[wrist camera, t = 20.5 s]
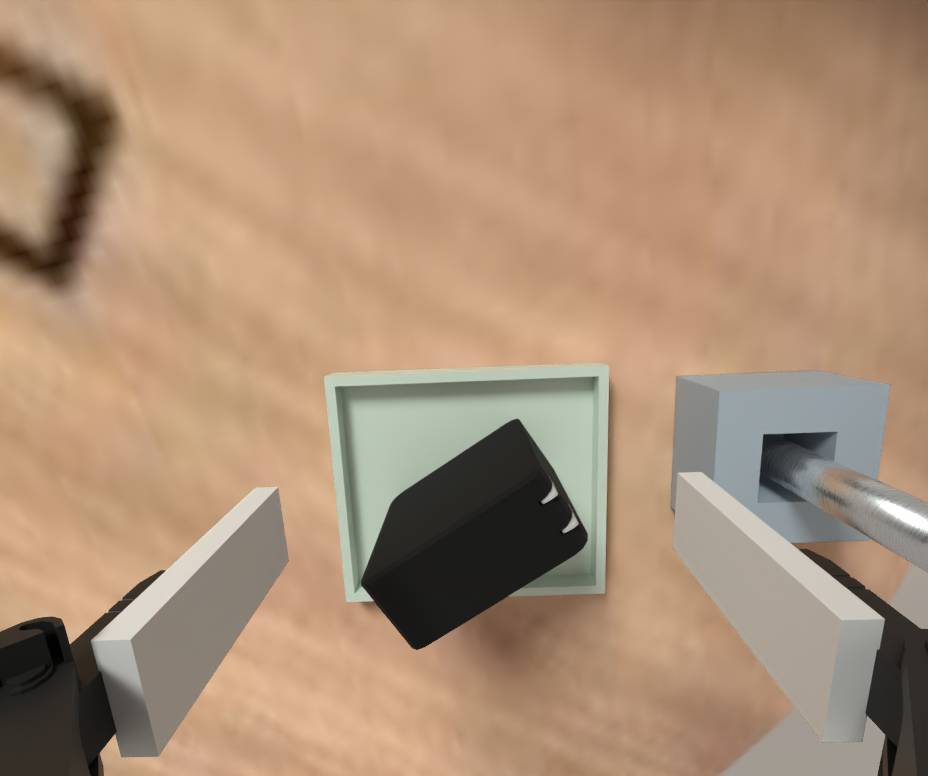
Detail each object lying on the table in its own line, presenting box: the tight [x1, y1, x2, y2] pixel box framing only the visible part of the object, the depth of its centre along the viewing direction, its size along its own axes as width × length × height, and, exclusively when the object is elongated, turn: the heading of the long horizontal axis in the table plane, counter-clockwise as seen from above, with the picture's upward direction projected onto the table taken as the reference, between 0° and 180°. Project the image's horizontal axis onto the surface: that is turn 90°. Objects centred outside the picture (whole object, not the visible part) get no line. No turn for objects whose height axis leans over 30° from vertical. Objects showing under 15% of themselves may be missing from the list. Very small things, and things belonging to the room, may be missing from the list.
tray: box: [324, 362, 609, 602], centre depth 29 cm, size 15×17×2 cm
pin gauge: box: [760, 434, 928, 572], centre depth 23 cm, size 2×2×12 cm
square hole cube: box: [671, 371, 890, 543], centre depth 27 cm, size 9×9×5 cm
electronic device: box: [361, 419, 588, 650], centre depth 25 cm, size 4×10×10 cm, turn 125°
